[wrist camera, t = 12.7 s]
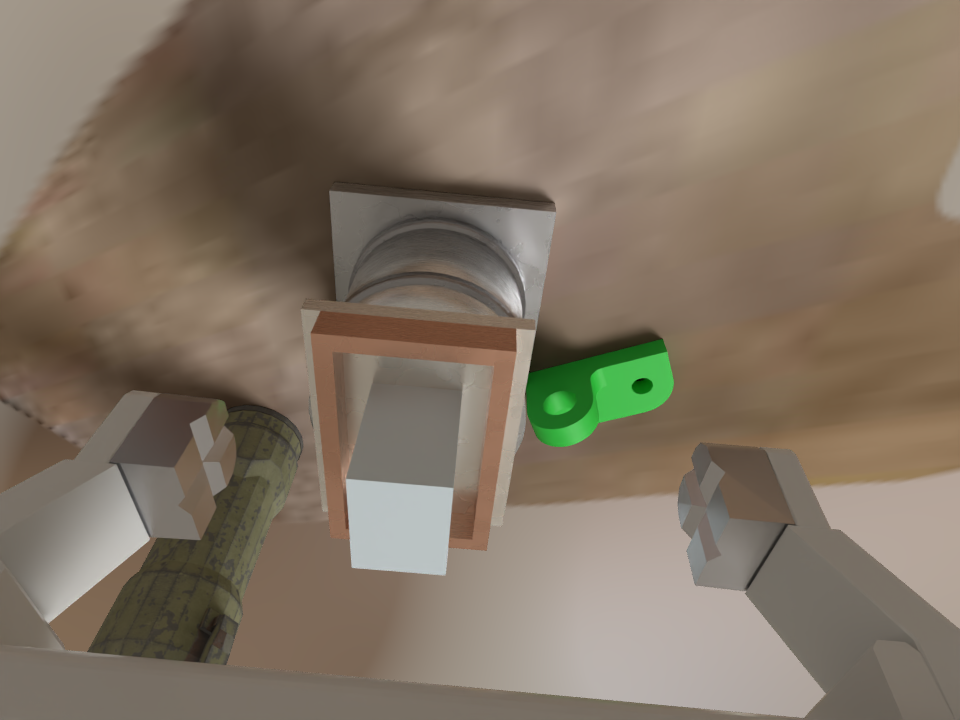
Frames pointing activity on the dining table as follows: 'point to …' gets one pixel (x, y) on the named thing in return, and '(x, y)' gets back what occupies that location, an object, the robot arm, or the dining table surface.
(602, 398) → the mechanical part
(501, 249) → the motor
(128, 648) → the thermos
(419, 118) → the dining table surface
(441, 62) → the dining table surface
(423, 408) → the pale grey rectangular block
